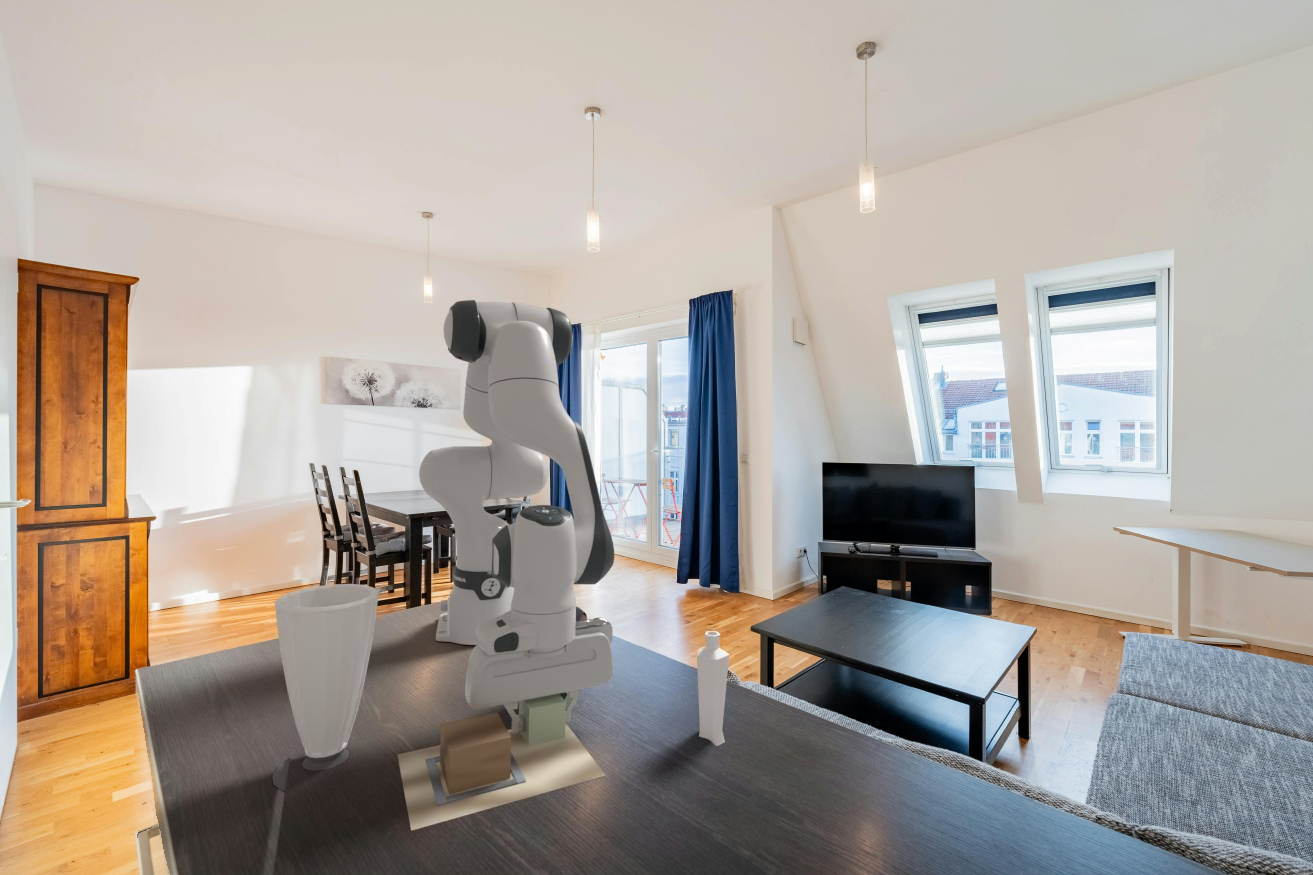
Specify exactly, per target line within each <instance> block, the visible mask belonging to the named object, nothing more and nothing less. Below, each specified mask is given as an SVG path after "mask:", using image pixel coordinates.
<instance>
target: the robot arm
mask: <svg viewBox="0 0 1313 875" xmlns="http://www.w3.org/2000/svg"><path fill="white" fill-rule="evenodd" d="M443 337H444V341H445V344H446V346H447V350H448V352H449V353H450V354H451V355H452V356H453V357H454V358H455V359H458V360H460V361H462V362H465V363H466V362H467V363H468V364H467V369H466V379H465V387H464V388H465V389H464V390H465V391H464V398H463V399H464V400H463V401H464V402H463V410H462V412H463V418H464V422H465V423H466V425H467V426H468V427H469V428H470V429H472V431H474V432H475V433H477V434H479V435H481V436H483V437H485V438H487V439H489V440H490V441H491V443H490V445H486V446H485V445H484V446H481V445H480V446H478V445H475V446H474V445H473V446H471V445H468V446H467V445H454V446H453V445H452V446H447V447H441V448H437V449H432V450H430V451H429V452H427V453H426V455H425V457H423V459H422V461H421V463H420V466H419V469H418V470H419V471H418V473H419V474H418V476H419V482H420V485H421V487H422V489H423V491H424V492H425V493H426V495H427V496H429V497H430V498H432V499H433V500H435V501H436V502H437V503H438V504H440V506H442V508H443V509H444V510H445V511H446V512H447V514H448V516H449V517H450V519H451V522H452V524H453V527H454V531H455V541H456V566H455V567H454V572H453V587H452V589H451V591H450V593H449V597H447V599H442V600H440V612H443V613H441V614H439V616H438V622H437V628H436V632H435V633H436V634H435V641H437V642H450V643H455V644H457V645H458V644H459V645H467V646H468V645H469V646H474V647H473V649H471V651H470V654H469V657H468V661H467V668H466V673H465V682H464V684H465V686H464V696H465V699H466V702H467V703H468V705H469V707H470V708H472V709H473V710H475V711H480V710H483V709H490V708H494V707H499V706H500V707H501V706H504V708H505V709H506V711H507V713H508V714H509V716H510V717H511V729H512V731H513V732H514V734H515V733H520V732H524V731H525V730H526V727H525V725H526V719H525V718H524V717H523V714H519V713H518V714H517V713H516V712H515V710H518V709H519V701H524V700H529V699H534V698H539V697H544V696H549V695H554V694H560V693H564V692H566V693H567V696H566V698H565V699H564V700H565V701H566V707H565V722H566V723H567V722H571V720H572V710H573V708H574V706H575V705H576V703H577V701H578V699H579V698H580V690H582V689H588V688H589V689H590V688H592V687H593V688H594V687H598V686H604V685H607V684H609V683H610V682H611V680H612V678H613V676H614V661H613V653H612V646H611V644H612V642H613V632H614V631H613V630H614V629H613V626H612V624H611V623H610V622H609V621H608V620H606V619H604V617H595V618H593V619H588V620H578V621H576V607H577V600H576V599H577V598H576V595H575V591H574V589H575V588H574V585H596V584H597V583H598V582H600V581H601V580H602V579H603V578H604V577H605V576H606V575H607V574H608V573H609V571H610V570H611V568H613V565H614V563H615V547H614V543H613V537H612V535H611V531H610V529H609V525H608V522H607V519H606V517H605V513H604V510H603V506H602V502H601V496H600V494H599V488H598V484H597V481H596V480H597V479H596V476H595V472H594V467H593V462H592V458H591V455H590V452H589V446H588V443H587V440H586V435H585V434H584V431H583V428H582V427H581V425H580V423H579V422H577V421H575V420H574V419H572V418H571V417H570V416H569V414H568V412H567V411H566V408H565V407H564V405H563V402H562V400H561V396H560V388H559V374H558V367H557V366H559V365H561V364H562V363H564V362H565V361H566V360H567V359H568V358H569V355H570V352H571V351H572V350H571V349H572V346H573V341H574V340H573V339H574V338H573V328H572V323H571V321H570V319H569V318H568V316H567V314H566V313H564V312H562V311H560V310H557V309H554V308H551V307H546V308H544V307H540V306H536V305H531V304H526V303H521V302H514V301H513V302H504V301H503V302H502V301H501V302H499V301H476V300H475V299H467V300H466V299H465V300H460V301H458V300H457V301H456V302H454V303H453V304H452V305H451V306H450V307H449V311H448V313H447V315H446V316H445V320H444V324H443ZM545 456H546V457H547V458H550V459H551V460H553V462H555V463H556V464H557V465H558V466H559V467H560V469H561V470H562V471H563V475H564V479H565V482H566V488H567V491H568V495H569V496H568V497H569V500H570V506H571V509H572V513H571V512H570V511H569V510H567V509H565V508H563V507H560V506H556V505H555V506H554V505H551V504H536V505H531V506H527V507H525V508H522V509H520V510H519V511H518V512H517V515H516V518H515V522H514V523H510V524H509V523H508V522H507V521H506V520H504V519H503V518H500V517H499V516H497V515H494V514H491V513H489V512H487V511H486V510H485V507H484V501H486V500H495V499H496V500H498V499H501V500H502V499H503V500H504V499H520V498H525V497H529V496H533V495H538V494H539V493H540V492H542V490H543V489H544V487H545V486H546V484H547V482H548V478H549V465H548V462H547V459H546V458H545ZM572 514H573V515H572Z"/></svg>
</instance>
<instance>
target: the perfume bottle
mask: <svg viewBox="0 0 1313 875" xmlns="http://www.w3.org/2000/svg"><path fill="white" fill-rule="evenodd" d="M704 635H705V645H704V646H702V647H699V648H698V650H697V653H696V666H697V690H698V693H697V694H698V712H699V714H698V715H699V717H698V718H699V732H698V733H699V734H698V737H700V738H703V739H707V740H709V741H710V742H711V743H712V744H713V745H715V746H716V747H719V746H720V745H723V744H724V743H725V737H724V733H723V725H724V724H723V723H724V714H725V713H724V712H725V705H726V704H725V703H726V693H727V684H728V680H727V679H728V672H729V662H730V654H729V653H728V652H727V651H725V650H723V649H721V647H720V636H721V633H719V632H718V631H716V630H710V631H709V630H708V631H707V630H706V631H705V634H704Z"/></svg>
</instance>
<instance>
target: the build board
mask: <svg viewBox="0 0 1313 875" xmlns="http://www.w3.org/2000/svg"><path fill="white" fill-rule="evenodd" d="M507 731H508V733H509V734H510V736H511V768H510V779H507V780H503V781H499V782H495V783H492V784H488V785H484V786H480V787H476V788H473V789H469V790H465V791H461V792H457V793H454V794H450V795H449V792H448V789H447V785H446V782H445V779H444V775H443V772H442V769H441V765H440V744H439V745H435V746H430V747H425V748H421V749H416V750H412V751H408V752H403V753H399V754H397V760H398V766H399V771H400V777H401V782H402V787H403V793H404V798H405V799H404V800H405V804H406V810H407V815H408V820H409V826H410V831H415V830H420V829H424V828H427V827H430V826H434V825H437V824H441V823H444V822H447V821H452V820H454V819H459V818H462V817H465V816H469V815H472V814H476V813H479V812H483V811H487V810H490V809H494V808H497V807H501V806H505V805H507V804H511V803H514V802H519V801H522V800H525V799H528V798H533V797H537V796H539V795H544V794H546V793H547V794H548V793H550V792H554V791H557V790H561V789H564V788H568V787H571V786H576V785H578V784H582V783H585V782H589V781H593V780H596V779H600V778H604V777H606V776H607V775H606V774H605V772H604V771H603V769H601V767H600V766H599V764H598V763H597V762H596V761H595V759H594V758H593V757H592V755H591V754H590V753H589V751H588V750H587V748H586V747H585V746H584V745H583V743H582V742H581V741H580V740H579V739H578V737H577V735H576V734H575V733H574V732H573V730H572V729H571V728H570V726H569V725H568V724H567V722H565V738H562V739H558V740H554V741H550V742H546V743H542V744H538V745H533V746H528V744H527V743H526V741H525V739H524V738H523V736H522V734H521V732H520V733H515V734H514V732H513V731H512V728H510V729H507Z"/></svg>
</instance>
